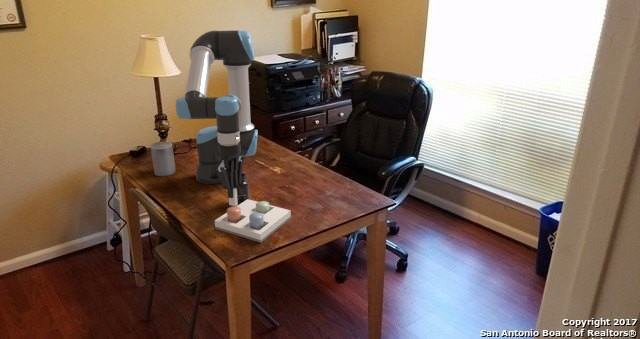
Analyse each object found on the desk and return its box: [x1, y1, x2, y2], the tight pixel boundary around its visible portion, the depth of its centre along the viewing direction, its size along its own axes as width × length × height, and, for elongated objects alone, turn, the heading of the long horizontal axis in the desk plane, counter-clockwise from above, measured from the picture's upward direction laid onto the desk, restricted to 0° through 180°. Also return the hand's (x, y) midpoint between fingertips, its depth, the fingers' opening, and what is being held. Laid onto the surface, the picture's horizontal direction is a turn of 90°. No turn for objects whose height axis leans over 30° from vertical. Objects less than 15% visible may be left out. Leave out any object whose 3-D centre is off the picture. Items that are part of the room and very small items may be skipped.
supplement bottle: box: [237, 172, 250, 206], centre depth 188 cm, size 7×7×12 cm
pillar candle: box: [149, 141, 177, 177], centre depth 215 cm, size 10×10×15 cm
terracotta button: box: [226, 206, 241, 223], centre depth 170 cm, size 5×5×4 cm
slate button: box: [249, 213, 264, 229], centre depth 166 cm, size 5×5×4 cm
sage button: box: [256, 200, 270, 214], centre depth 177 cm, size 5×5×4 cm
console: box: [214, 198, 292, 244], centre depth 173 cm, size 20×20×3 cm
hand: (233, 204), depth 168 cm, fingers closed
